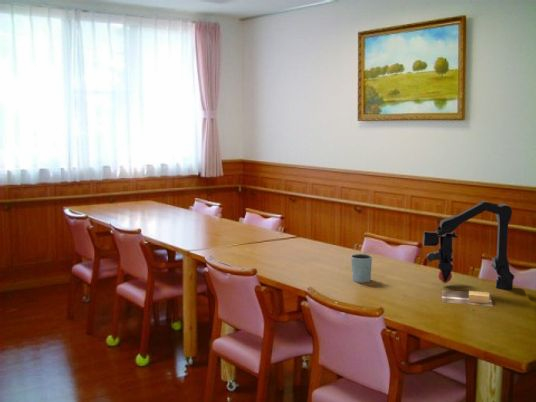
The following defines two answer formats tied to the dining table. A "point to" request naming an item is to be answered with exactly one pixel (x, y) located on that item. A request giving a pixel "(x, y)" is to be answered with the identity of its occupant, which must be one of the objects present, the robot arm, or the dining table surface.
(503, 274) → the robot arm
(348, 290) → the dining table surface
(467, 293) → the board
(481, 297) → the light orange rectangular block
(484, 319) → the dining table surface
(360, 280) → the grey blue cup
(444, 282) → the onion
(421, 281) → the dining table surface
